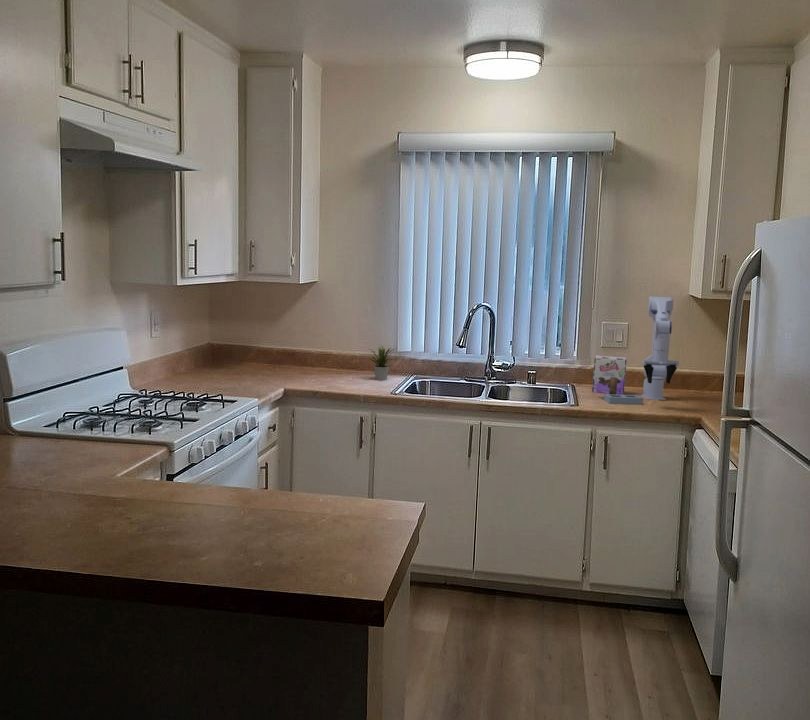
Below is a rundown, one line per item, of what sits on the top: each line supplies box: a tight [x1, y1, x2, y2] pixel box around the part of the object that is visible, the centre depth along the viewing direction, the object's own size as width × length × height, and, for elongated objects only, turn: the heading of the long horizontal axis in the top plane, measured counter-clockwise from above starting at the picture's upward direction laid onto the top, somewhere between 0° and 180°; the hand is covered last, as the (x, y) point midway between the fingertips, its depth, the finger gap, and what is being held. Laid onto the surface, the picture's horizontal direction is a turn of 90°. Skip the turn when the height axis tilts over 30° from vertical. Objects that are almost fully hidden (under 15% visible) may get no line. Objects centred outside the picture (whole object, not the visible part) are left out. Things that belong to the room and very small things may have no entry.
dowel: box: [609, 377, 617, 395], centre depth 343 cm, size 3×3×9 cm
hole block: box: [603, 393, 644, 405], centre depth 336 cm, size 7×14×3 cm, turn 94°
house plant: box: [369, 345, 395, 381], centre depth 372 cm, size 14×14×16 cm
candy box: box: [591, 354, 628, 395], centre depth 358 cm, size 14×6×16 cm, turn 73°
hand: (658, 383), depth 328 cm, fingers open, 7 cm apart
